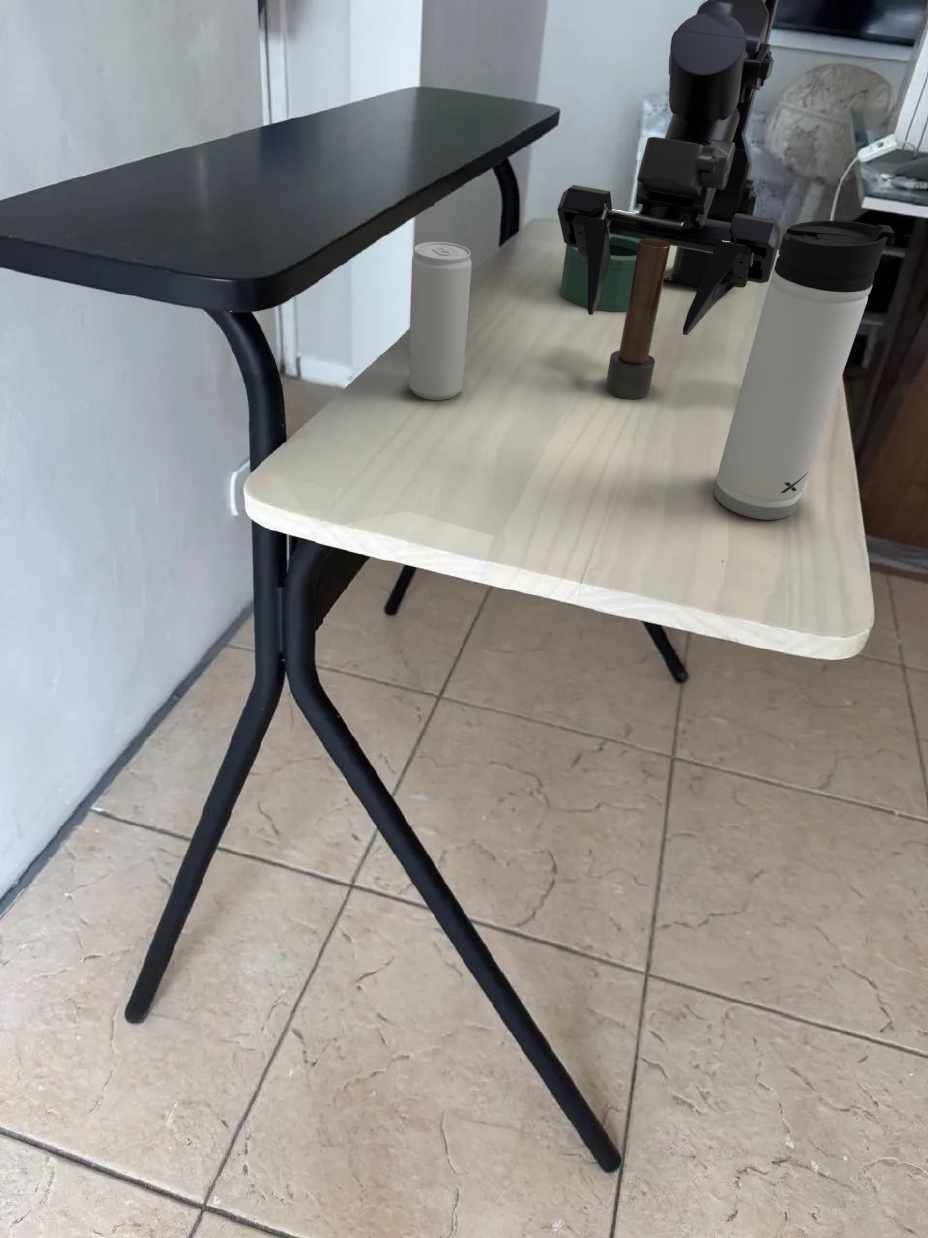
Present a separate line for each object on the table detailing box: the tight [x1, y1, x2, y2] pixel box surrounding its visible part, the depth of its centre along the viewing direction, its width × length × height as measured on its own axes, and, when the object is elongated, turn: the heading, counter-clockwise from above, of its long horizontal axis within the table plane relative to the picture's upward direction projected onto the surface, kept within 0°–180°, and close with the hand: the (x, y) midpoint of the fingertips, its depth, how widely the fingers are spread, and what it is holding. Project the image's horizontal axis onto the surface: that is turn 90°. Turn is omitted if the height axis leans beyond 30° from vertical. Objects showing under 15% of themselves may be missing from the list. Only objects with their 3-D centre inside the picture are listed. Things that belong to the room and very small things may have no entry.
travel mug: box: [712, 220, 896, 521], centre depth 64 cm, size 6×7×20 cm
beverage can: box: [408, 241, 473, 401], centre depth 78 cm, size 5×5×12 cm
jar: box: [560, 234, 641, 312], centre depth 103 cm, size 10×10×6 cm
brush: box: [604, 238, 671, 400], centre depth 80 cm, size 4×4×13 cm
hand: (636, 322), depth 79 cm, fingers open, 8 cm apart
